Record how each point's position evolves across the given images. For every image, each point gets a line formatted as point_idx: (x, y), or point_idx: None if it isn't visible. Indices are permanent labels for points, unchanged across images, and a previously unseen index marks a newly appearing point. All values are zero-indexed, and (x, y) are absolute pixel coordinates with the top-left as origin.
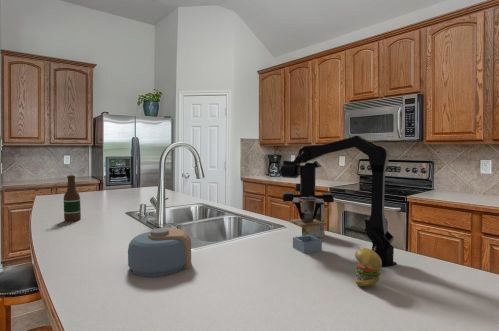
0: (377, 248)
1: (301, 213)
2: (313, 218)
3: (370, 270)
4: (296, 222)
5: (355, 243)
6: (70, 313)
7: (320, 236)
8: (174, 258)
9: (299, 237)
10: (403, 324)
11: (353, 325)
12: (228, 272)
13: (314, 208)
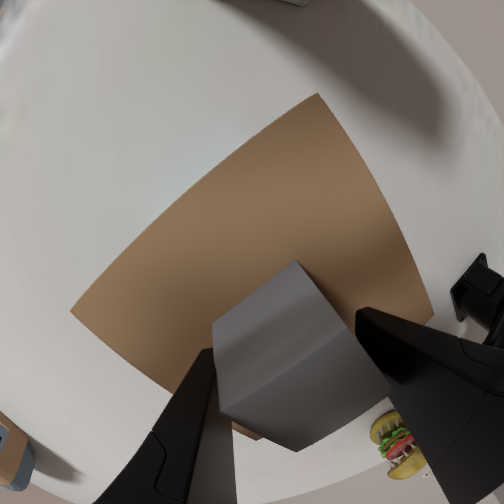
0: (486, 329)
1: (232, 451)
2: (365, 350)
3: (399, 455)
4: (177, 385)
5: (446, 88)
6: (59, 495)
7: (301, 2)
8: (30, 474)
9: None
10: (382, 461)
11: (329, 484)
12: (97, 454)
13: (436, 439)
